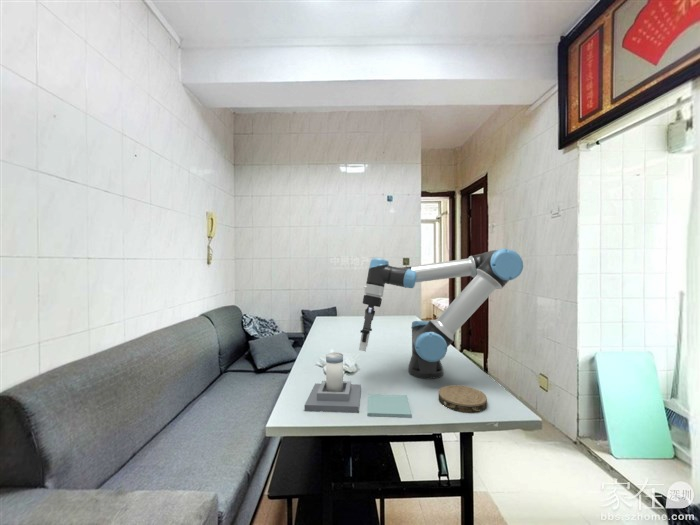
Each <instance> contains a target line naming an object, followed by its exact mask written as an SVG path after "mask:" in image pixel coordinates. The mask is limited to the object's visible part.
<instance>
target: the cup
mask: <svg viewBox="0 0 700 525" xmlns="http://www.w3.org/2000/svg"><path fill="white" fill-rule="evenodd" d="M325 363H326V364H325V365H326V366H325V367H326V368H325V369H326V374H325V375H326V377H325V378H326V380H325V381H326V388H327V392H343V381H344V354H343V353H341V352H329V353H326V354H325Z"/></svg>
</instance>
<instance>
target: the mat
mask: <svg viewBox="0 0 700 525" xmlns="http://www.w3.org/2000/svg"><path fill="white" fill-rule="evenodd" d="M412 416H413V415H412V409H411V406H410V402H409V397H408V395H407V394H387V393H386V394H385V393H384V394H381V393H379V394H378V393H368V395H367V417H384V418H385V417H387V418H412Z"/></svg>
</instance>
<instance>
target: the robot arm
mask: <svg viewBox="0 0 700 525" xmlns="http://www.w3.org/2000/svg"><path fill="white" fill-rule="evenodd" d="M523 269H524V261H523V259H522V256H520V254H519V253H518V252H517V251H516V250H515V251H514V250H512V249H509V248H508V249H507V248H500V249H495V250H493V249H492V250H490V251H486V252H482V253H479V254H475V255H470V256H468V258H462V259H456V260H449V261H448V260H447V261H439V262H434V263H433V262H432V263H426V264H425V263H424V264H418V265H411V266H403V267H402V266H401V267H400V266H399V267H397V266H392V265H389V260H387V259H385V258H384V259H383V258H378V257H375V258H372V259H371V260H370V263H369V267H368V273H367V277H366V284H365V285H364V286H363V288H364V295H363V298H362V304H364V305H367V307H366V309H365V310H364V321H363V327H362V329H360V333H361V337H360V340H359V341H360V342H359V345H358V346H359V347H358V351H361V352H364V353H365V352H366V351H367V347H368V345H369V339H370V334H371V332H372V331H373V328H372V322H373V320H374V317H375V314H376V310H375V307H377V308H380V307H381V305H382V297H383V296H384V291H385V285H386V284H387V285H392V286H396V287H401V288H405V289H406V288H407V289H414V288H415V285H416V283H423V282H430V281H438V280H439V281H440V280H446V279H454V278H462V277H463V278H464V277H471V278H473V279H472V280H470V281H469V283H468V284H467V285H466V286H465V287H464V288H463V290H462V291H461V292H460V293H459V294H458V295H457V296H456V297H455V299H453V301H451V303H450V304H449V305H448V306H447V307H446V308H445V309H444V310H443V312H441V314H440V315H439V316H438V317H437V318H436V319H430V320H413V321H412V322H411V351H412V352H411V357H410V360H409V363H408V367H407V368H408V374H410V375H411V376H413V377H416V378H420V379H427V378H432V379H438V378H441V377H442V376H443V375H444V368H443V365H442V362H441V360H443V358H444V357H445V356H446V355H447V351H448V347H449V346H451V344H452V343H453V342H454V341H455V338H454V334H456V333H457V331H459V329H460V328H461V327H462V326H463V325H464V324H465V323H466V322H467V320H469V318H470V317H472V315H473V314H474V313H475V312H476V311H477V310H478V309H479V308H480V306H482V304H484V302H485V301H486V300H487V299H488V298H489V297H490V296H491V294H493V292H494V291H495V290H501V289H503V288H504V286H506V284H508V283H509V281H512V280H515V279H516V278H518V277H519V276H520V275H521V274H522V272H523ZM440 376H441V377H440ZM437 377H438V378H437Z"/></svg>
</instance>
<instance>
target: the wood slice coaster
mask: <svg viewBox="0 0 700 525" xmlns="http://www.w3.org/2000/svg"><path fill="white" fill-rule="evenodd" d="M487 400H488V397H487V395H486V394H485V393H484V392H482V391H481V390H479V389H476V388H474V387H470V386H467V385H466V386H465V385H458V384H450V385H445V386H442V387H441V388H439V389H438V401H439V403H440V404H441V405H442V406H443V405H444V406H443V407H445V408H446V407H447V408H446V409H448V408H449V409H448V410H452V411H454V412H458V413H463V414H479V413H482V412H484V411H485V410H486V409H487V407H488V401H487Z"/></svg>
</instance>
